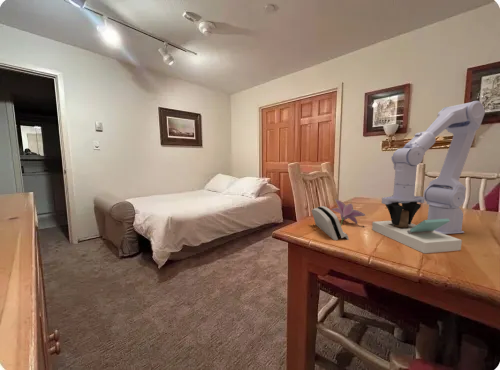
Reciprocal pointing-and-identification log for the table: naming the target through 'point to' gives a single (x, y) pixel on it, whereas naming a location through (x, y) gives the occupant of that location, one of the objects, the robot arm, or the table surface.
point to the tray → (418, 238)
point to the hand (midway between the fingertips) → (401, 224)
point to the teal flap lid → (428, 225)
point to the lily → (347, 211)
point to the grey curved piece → (328, 222)
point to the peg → (403, 220)
